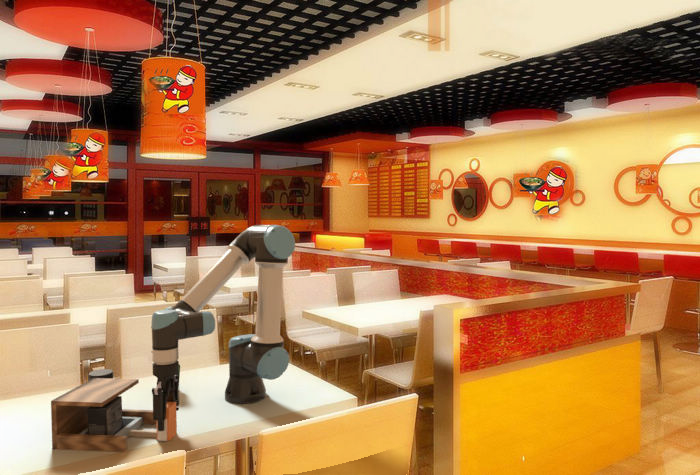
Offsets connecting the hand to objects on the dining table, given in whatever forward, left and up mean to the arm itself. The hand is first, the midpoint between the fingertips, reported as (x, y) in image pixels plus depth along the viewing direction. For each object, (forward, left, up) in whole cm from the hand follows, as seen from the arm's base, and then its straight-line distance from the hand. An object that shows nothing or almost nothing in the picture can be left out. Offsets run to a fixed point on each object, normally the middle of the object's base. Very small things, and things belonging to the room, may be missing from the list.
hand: (167, 435), depth 156 cm
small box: (+20, 0, -1) cm, 20 cm away
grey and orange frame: (+11, 0, 0) cm, 11 cm away
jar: (+35, -23, -1) cm, 42 cm away
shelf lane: (+19, 0, 0) cm, 19 cm away
